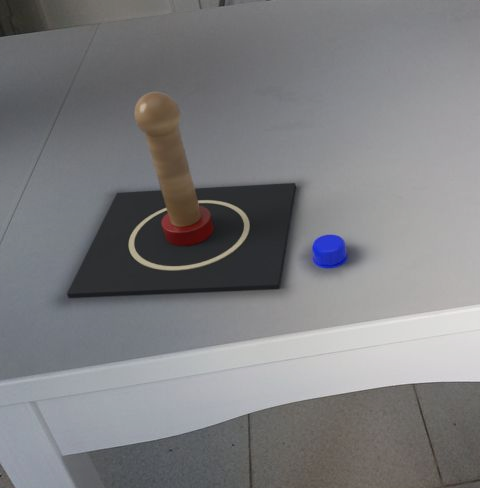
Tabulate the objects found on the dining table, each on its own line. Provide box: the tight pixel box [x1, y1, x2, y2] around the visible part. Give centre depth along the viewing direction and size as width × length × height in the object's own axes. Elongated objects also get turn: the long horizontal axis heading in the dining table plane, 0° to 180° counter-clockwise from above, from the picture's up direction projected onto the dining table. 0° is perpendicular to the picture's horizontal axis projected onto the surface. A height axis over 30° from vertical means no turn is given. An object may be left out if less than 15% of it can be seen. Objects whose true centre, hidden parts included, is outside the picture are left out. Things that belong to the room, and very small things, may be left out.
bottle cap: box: [311, 234, 348, 269], centre depth 62 cm, size 3×3×2 cm
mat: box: [66, 182, 297, 299], centre depth 66 cm, size 18×16×1 cm
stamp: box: [134, 91, 214, 246], centre depth 61 cm, size 4×4×13 cm
